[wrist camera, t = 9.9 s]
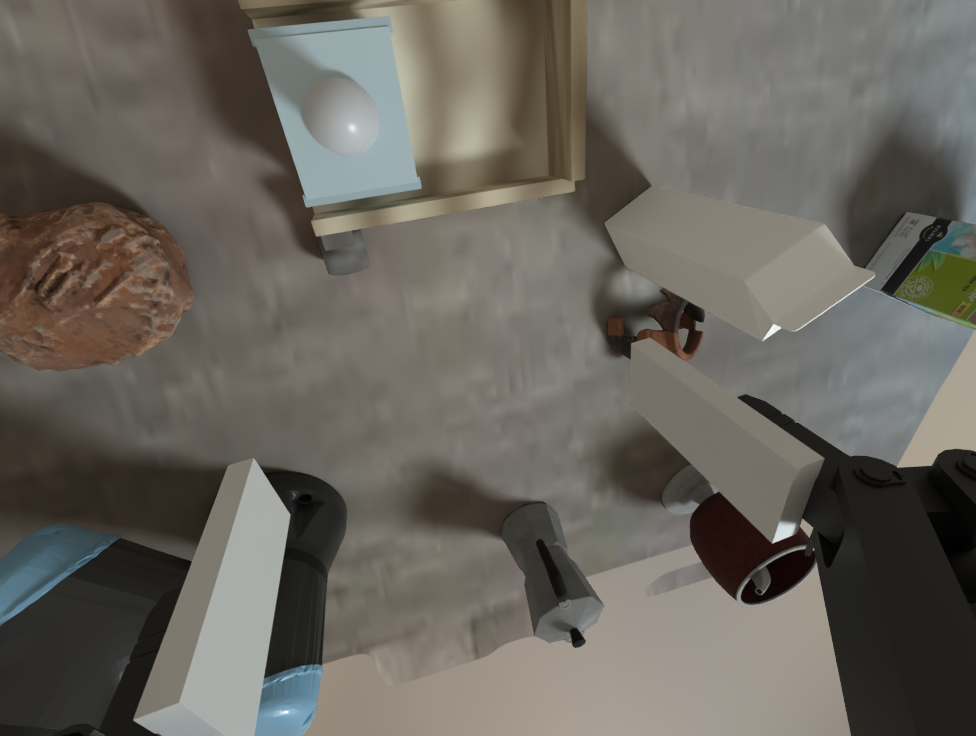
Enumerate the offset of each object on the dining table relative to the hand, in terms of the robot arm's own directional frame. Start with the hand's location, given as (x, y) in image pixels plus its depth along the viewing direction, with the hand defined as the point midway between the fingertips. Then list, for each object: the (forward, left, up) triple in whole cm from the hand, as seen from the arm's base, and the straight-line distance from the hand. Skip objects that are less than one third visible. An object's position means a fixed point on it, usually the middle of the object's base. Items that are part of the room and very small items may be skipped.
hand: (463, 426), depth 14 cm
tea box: (+66, -15, -29) cm, 74 cm away
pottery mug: (+26, -16, -29) cm, 42 cm away
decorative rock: (-23, +2, -29) cm, 37 cm away
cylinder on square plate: (-2, +10, -27) cm, 29 cm away
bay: (+4, +8, -29) cm, 30 cm away
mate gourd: (+38, -48, -29) cm, 68 cm away
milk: (+24, -3, -29) cm, 38 cm away
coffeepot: (+9, -44, -29) cm, 54 cm away
